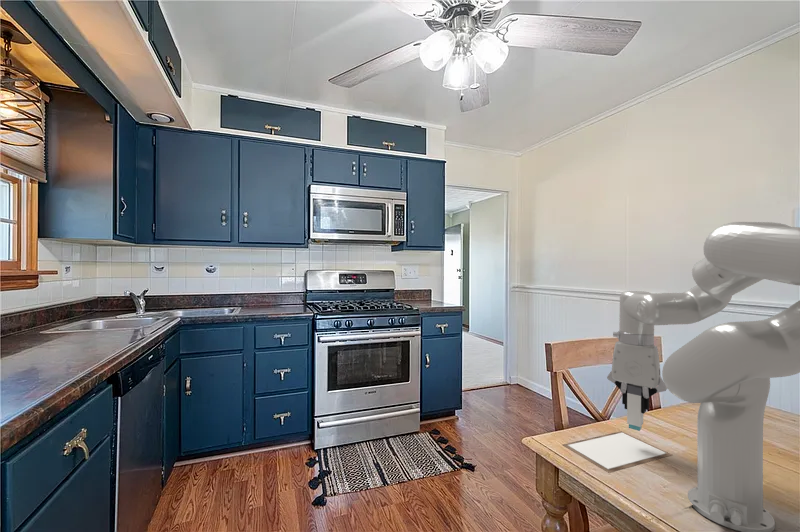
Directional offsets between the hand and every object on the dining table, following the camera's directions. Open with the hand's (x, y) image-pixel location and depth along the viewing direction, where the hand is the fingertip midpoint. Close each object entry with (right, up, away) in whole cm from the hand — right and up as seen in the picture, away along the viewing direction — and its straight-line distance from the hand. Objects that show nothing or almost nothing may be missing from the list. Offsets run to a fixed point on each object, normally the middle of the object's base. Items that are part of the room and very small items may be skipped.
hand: (635, 409), depth 94 cm
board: (-5, -11, 0) cm, 12 cm away
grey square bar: (0, -5, 0) cm, 5 cm away
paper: (-5, -10, 0) cm, 12 cm away
